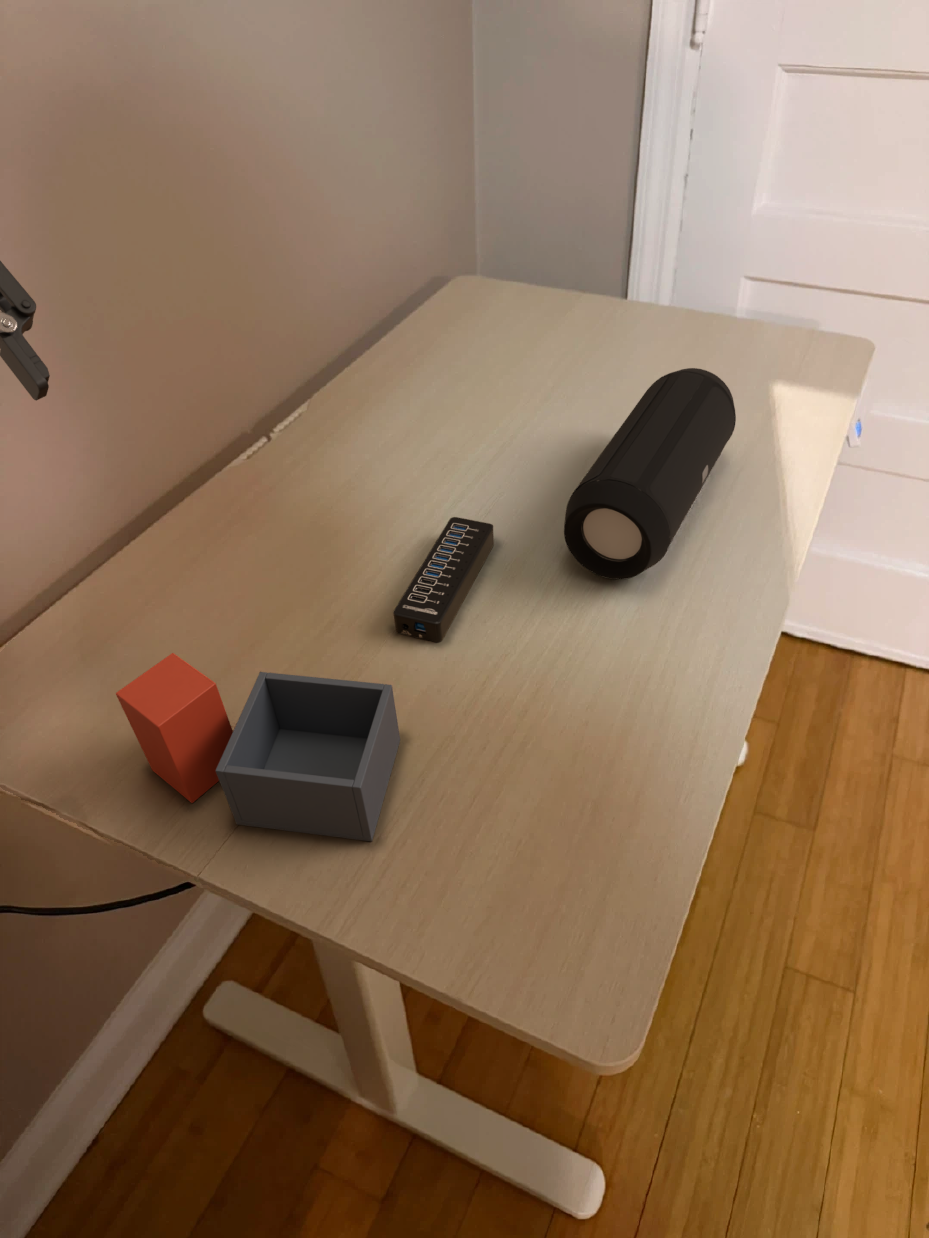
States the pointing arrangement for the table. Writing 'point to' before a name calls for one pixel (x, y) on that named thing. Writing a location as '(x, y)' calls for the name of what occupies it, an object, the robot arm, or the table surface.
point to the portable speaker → (649, 474)
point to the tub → (311, 755)
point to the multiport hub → (444, 579)
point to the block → (178, 724)
